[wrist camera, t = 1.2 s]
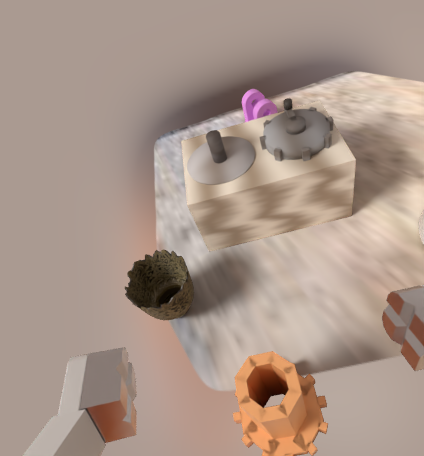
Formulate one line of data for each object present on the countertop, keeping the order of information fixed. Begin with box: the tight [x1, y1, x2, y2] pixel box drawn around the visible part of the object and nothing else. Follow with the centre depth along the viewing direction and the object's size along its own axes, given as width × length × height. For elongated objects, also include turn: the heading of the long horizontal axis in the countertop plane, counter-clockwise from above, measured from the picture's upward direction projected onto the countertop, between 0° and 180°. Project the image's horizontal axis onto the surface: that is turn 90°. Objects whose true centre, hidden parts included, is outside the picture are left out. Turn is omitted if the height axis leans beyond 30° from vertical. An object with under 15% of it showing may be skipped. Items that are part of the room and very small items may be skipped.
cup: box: [125, 250, 194, 320], centre depth 42 cm, size 8×7×8 cm
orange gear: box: [233, 351, 328, 456], centre depth 31 cm, size 9×9×10 cm
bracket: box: [242, 89, 277, 122], centre depth 60 cm, size 13×6×7 cm, turn 114°
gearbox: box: [181, 99, 356, 252], centre depth 47 cm, size 20×13×14 cm, turn 97°
